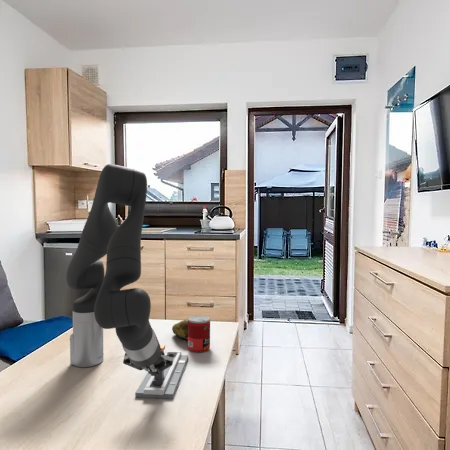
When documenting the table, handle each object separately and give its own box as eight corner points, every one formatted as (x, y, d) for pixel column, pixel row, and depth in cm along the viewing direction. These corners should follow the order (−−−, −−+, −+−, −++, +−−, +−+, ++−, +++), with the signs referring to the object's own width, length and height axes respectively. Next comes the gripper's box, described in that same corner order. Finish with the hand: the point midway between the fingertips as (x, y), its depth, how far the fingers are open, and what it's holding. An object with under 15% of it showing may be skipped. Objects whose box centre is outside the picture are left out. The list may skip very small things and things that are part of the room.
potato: (192, 332, 143) (192, 312, 142) (197, 344, 130) (197, 322, 130) (171, 334, 140) (171, 314, 140) (175, 346, 128) (175, 324, 128)
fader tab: (152, 385, 96) (152, 348, 96) (155, 379, 99) (155, 344, 99) (162, 385, 96) (162, 348, 96) (165, 380, 99) (165, 344, 99)
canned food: (207, 353, 121) (207, 322, 121) (185, 351, 123) (185, 320, 122) (212, 345, 129) (212, 315, 129) (191, 343, 130) (191, 314, 130)
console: (134, 398, 92) (134, 389, 92) (159, 357, 118) (158, 350, 118) (172, 399, 92) (172, 390, 92) (188, 358, 118) (188, 351, 117)
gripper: (172, 329, 83) (181, 359, 95) (117, 328, 84) (133, 357, 96) (167, 361, 78) (177, 387, 90) (108, 359, 78) (127, 386, 91)
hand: (154, 372), depth 93 cm, fingers closed
